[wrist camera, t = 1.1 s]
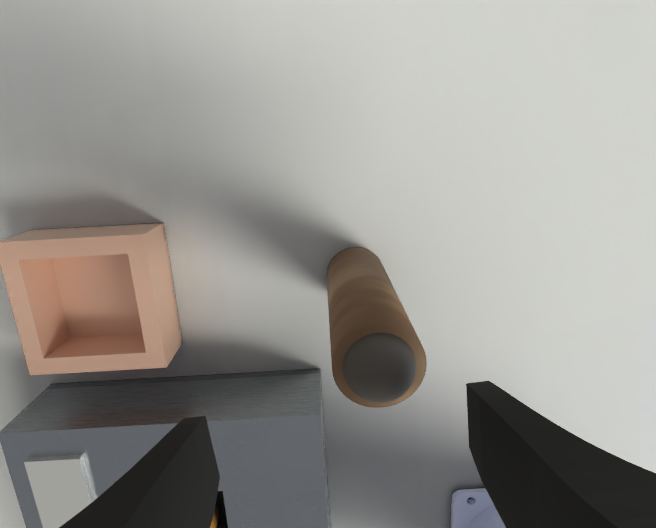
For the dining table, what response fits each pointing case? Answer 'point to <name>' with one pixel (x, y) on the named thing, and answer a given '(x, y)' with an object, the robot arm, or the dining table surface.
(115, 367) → the holder
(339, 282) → the brown wooden cylinder
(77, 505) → the panel
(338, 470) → the dining table surface
